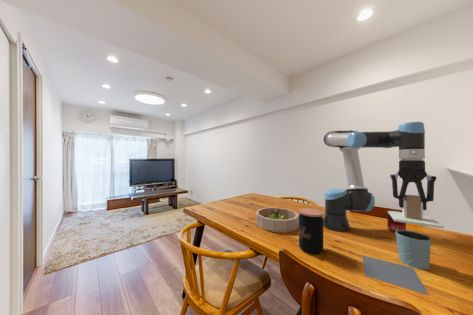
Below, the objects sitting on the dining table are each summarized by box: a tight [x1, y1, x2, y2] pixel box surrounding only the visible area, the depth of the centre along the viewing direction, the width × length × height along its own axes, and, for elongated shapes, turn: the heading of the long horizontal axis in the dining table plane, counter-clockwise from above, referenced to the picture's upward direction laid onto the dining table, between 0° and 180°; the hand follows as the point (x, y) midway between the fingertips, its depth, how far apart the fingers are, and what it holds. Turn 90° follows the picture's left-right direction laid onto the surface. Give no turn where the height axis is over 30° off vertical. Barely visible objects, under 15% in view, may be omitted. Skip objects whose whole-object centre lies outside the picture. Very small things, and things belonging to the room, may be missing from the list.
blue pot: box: [395, 229, 432, 270], centre depth 70 cm, size 10×10×12 cm
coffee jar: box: [298, 207, 324, 256], centre depth 81 cm, size 11×11×18 cm
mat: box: [361, 255, 430, 296], centre depth 64 cm, size 16×16×1 cm
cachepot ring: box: [255, 206, 299, 233], centre depth 113 cm, size 27×27×7 cm
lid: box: [387, 194, 444, 229], centre depth 70 cm, size 13×13×10 cm
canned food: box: [387, 210, 407, 233], centre depth 102 cm, size 8×8×11 cm
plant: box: [266, 209, 287, 220], centre depth 112 cm, size 20×20×11 cm
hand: (412, 216), depth 70 cm, fingers closed on lid, 4 cm apart
